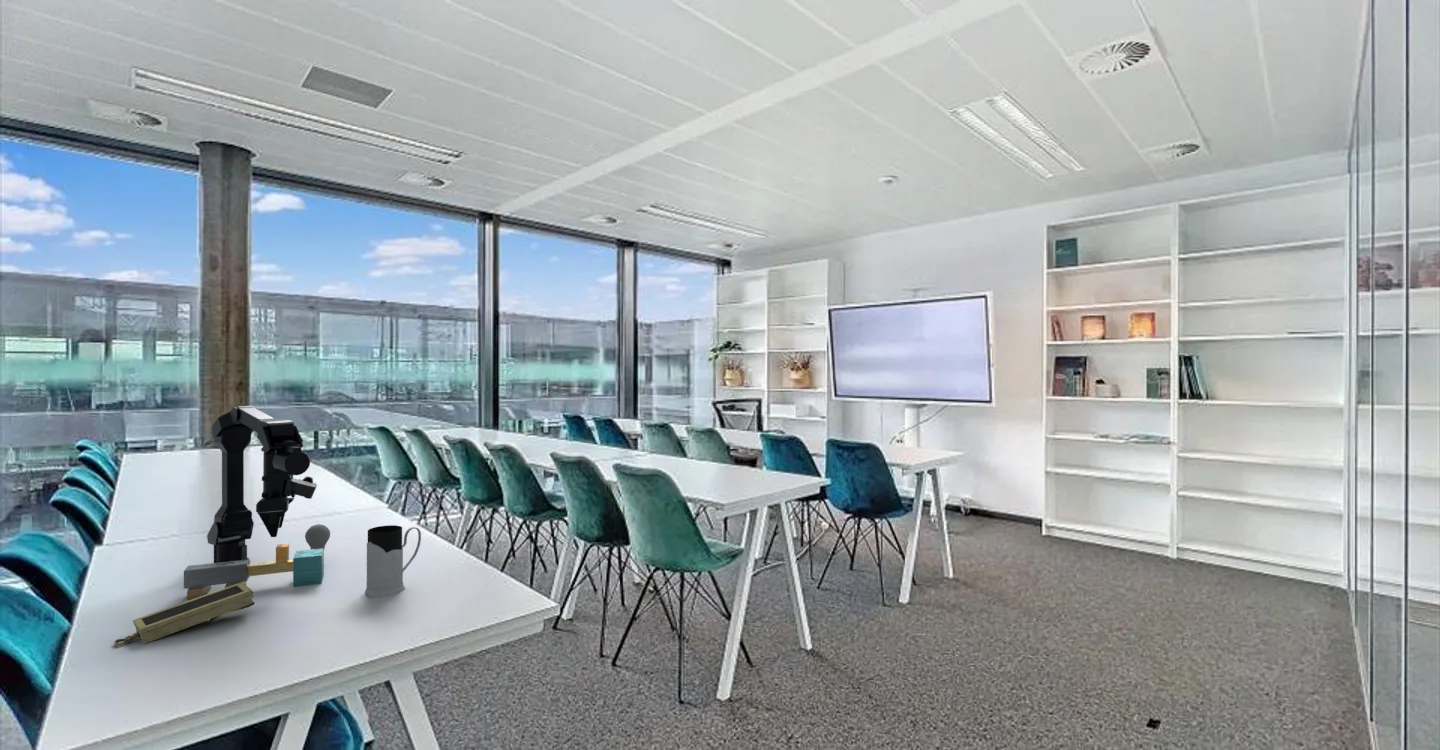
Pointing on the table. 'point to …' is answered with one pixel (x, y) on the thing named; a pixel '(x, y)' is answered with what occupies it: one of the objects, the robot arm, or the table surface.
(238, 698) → the table surface
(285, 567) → the yellow sliding bolt
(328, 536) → the light bulb
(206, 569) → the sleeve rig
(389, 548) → the glass holder
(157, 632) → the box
